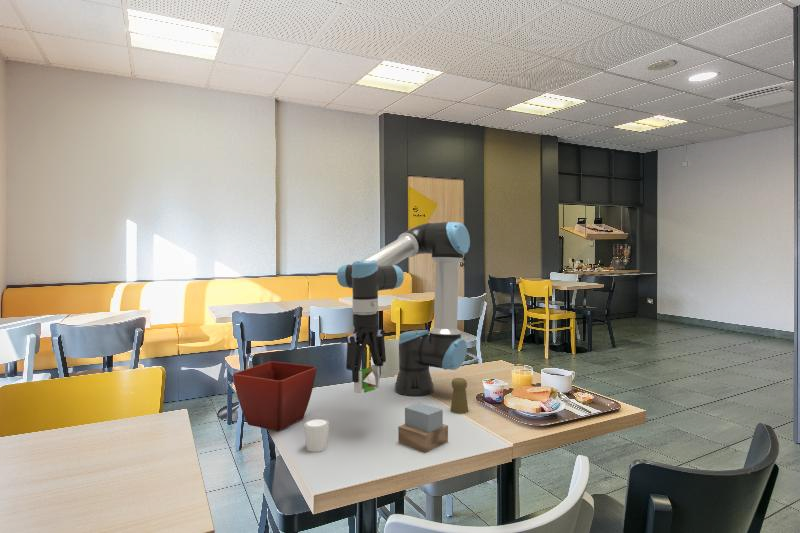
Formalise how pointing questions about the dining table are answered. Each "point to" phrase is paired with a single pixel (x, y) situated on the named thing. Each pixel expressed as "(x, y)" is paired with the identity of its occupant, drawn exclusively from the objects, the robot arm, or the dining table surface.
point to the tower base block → (422, 437)
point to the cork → (459, 396)
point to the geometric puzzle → (368, 380)
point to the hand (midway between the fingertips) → (367, 389)
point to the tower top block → (424, 417)
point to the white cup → (316, 434)
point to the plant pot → (274, 393)
